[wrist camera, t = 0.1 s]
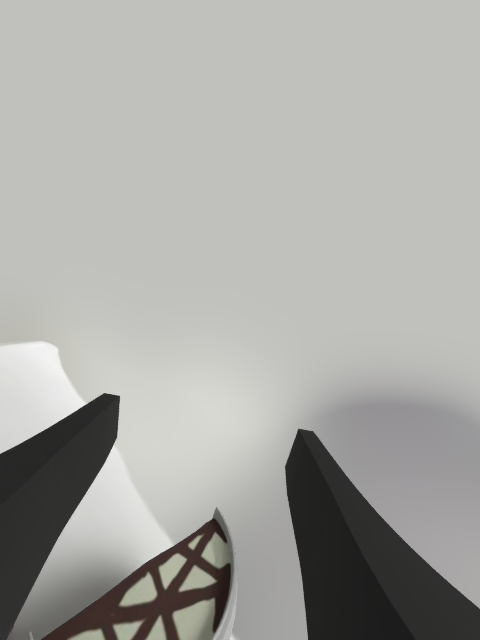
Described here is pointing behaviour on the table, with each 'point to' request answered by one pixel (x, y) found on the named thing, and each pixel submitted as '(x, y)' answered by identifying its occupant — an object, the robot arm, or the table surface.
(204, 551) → the food container
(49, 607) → the table surface
